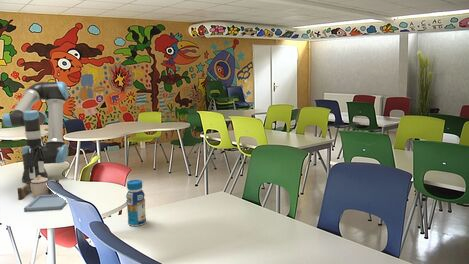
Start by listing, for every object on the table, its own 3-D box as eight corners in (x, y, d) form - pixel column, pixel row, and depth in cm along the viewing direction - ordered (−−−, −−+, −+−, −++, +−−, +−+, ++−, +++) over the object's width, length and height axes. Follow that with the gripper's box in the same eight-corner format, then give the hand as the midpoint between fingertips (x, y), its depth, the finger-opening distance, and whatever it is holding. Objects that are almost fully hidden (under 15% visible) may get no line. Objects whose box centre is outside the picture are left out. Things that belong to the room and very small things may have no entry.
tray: (38, 198, 220) (38, 195, 220) (72, 196, 222) (72, 193, 222) (24, 211, 200) (23, 208, 200) (61, 209, 202) (61, 206, 202)
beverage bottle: (126, 221, 186) (124, 180, 182) (145, 218, 189) (142, 177, 185) (128, 228, 178) (125, 185, 174) (147, 225, 181) (145, 182, 177)
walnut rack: (28, 191, 233) (27, 181, 231) (59, 190, 234) (58, 179, 233) (18, 199, 219) (17, 188, 218) (51, 198, 221) (50, 186, 220)
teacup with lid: (53, 194, 227) (51, 174, 225) (37, 199, 220) (35, 178, 218) (41, 190, 234) (39, 171, 232) (26, 195, 226) (24, 175, 224)
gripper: (35, 134, 233) (38, 170, 236) (17, 142, 208) (21, 181, 212) (48, 134, 234) (51, 169, 237) (31, 141, 209) (36, 180, 212)
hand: (37, 175), depth 224 cm, fingers open, 13 cm apart
